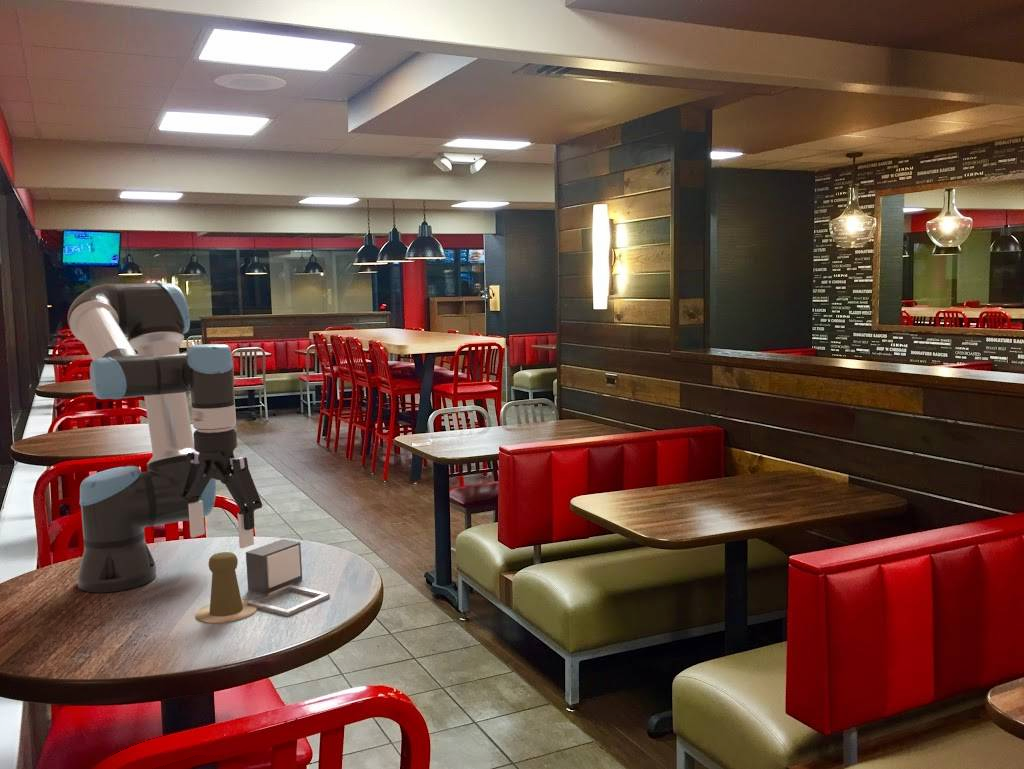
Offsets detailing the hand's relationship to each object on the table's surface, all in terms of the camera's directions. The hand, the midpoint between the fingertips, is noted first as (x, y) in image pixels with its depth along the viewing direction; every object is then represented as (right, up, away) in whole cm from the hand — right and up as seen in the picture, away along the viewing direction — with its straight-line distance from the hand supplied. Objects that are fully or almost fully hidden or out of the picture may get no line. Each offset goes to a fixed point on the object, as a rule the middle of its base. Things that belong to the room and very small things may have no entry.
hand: (221, 540), depth 165 cm
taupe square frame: (+11, -13, +6) cm, 18 cm away
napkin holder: (+6, -12, +16) cm, 20 cm away
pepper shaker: (0, -14, +1) cm, 14 cm away
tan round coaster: (0, -14, +1) cm, 14 cm away
